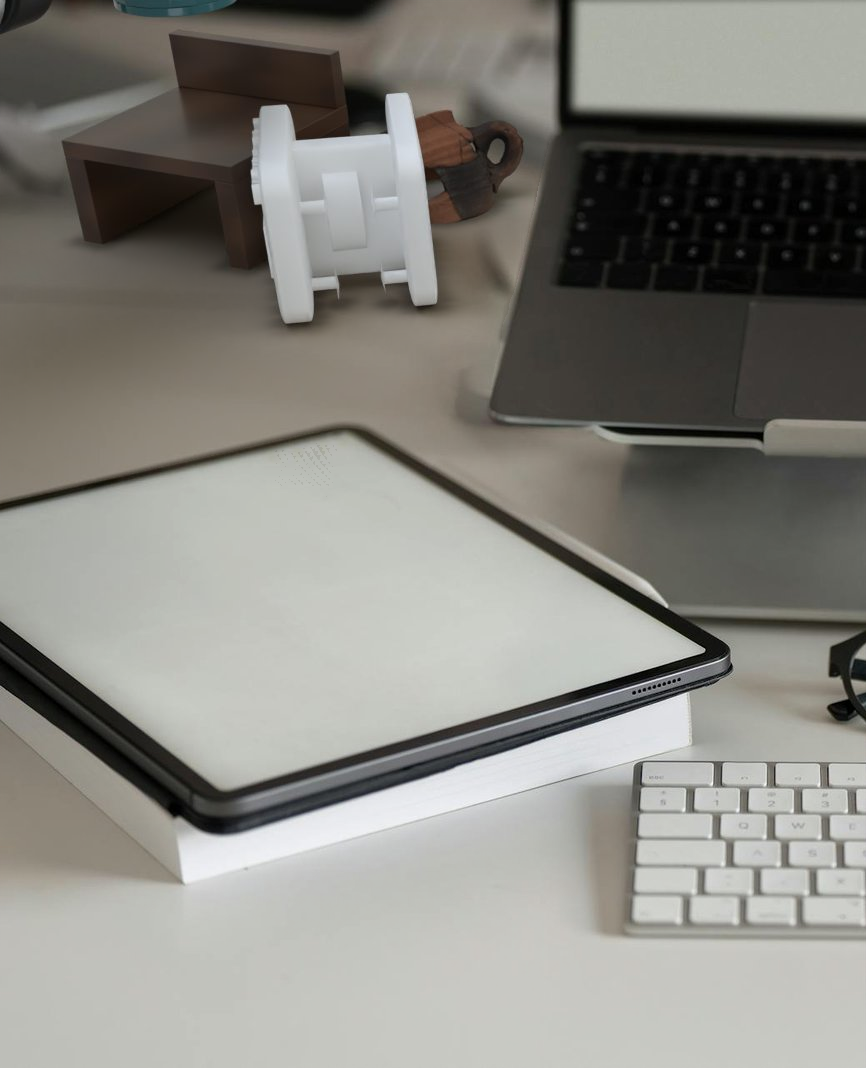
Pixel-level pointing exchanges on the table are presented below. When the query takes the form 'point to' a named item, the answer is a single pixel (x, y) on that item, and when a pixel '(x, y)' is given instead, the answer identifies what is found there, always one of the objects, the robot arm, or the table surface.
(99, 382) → the table surface
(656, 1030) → the table surface
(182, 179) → the desk shelf
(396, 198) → the cable organizer
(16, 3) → the robot arm
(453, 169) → the pottery mug
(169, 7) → the teal cup
